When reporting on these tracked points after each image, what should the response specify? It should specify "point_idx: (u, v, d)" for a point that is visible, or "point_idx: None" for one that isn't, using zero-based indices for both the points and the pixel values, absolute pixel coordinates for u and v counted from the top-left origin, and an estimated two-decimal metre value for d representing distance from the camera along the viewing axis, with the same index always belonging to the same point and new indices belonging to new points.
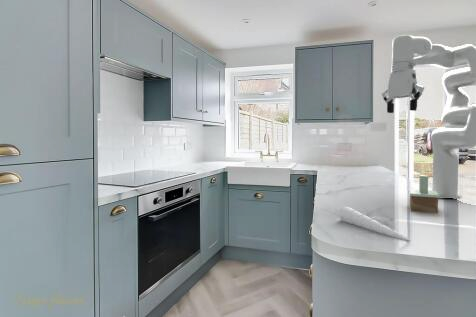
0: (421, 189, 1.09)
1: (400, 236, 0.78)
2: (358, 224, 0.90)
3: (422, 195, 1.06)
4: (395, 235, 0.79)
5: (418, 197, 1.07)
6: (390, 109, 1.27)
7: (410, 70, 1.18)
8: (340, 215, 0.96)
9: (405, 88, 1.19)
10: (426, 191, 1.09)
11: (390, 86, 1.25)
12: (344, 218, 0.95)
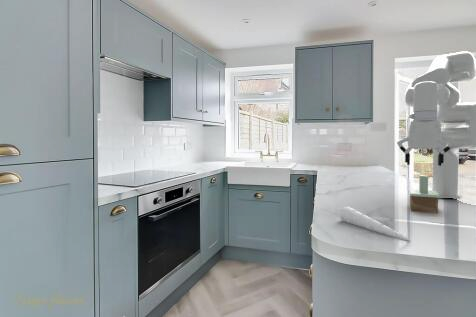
0: (421, 189, 1.09)
1: (401, 236, 0.78)
2: (359, 224, 0.90)
3: (422, 195, 1.06)
4: (396, 235, 0.79)
5: (418, 197, 1.07)
6: (438, 161, 1.09)
7: None
8: (341, 215, 0.96)
9: None
10: (426, 191, 1.09)
11: None
12: (345, 218, 0.95)
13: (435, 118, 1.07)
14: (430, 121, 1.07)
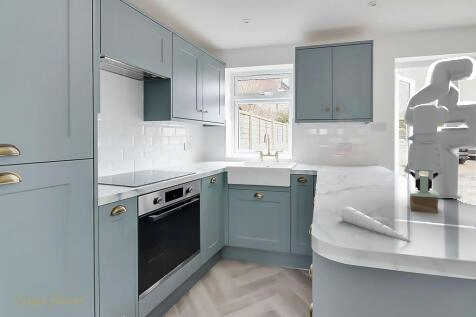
0: (421, 189, 1.09)
1: (401, 236, 0.78)
2: (359, 224, 0.90)
3: (422, 195, 1.06)
4: (396, 235, 0.79)
5: (418, 197, 1.07)
6: None
7: None
8: (341, 215, 0.96)
9: None
10: (426, 191, 1.09)
11: None
12: (345, 218, 0.95)
13: (435, 141, 1.07)
14: (430, 144, 1.08)
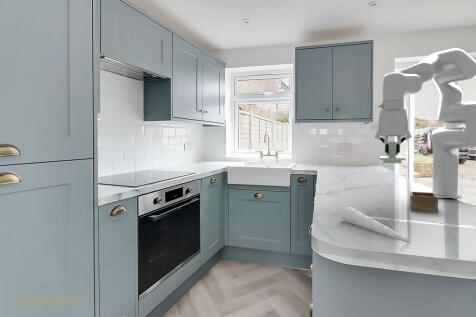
0: (390, 154, 1.16)
1: (400, 237, 0.78)
2: (360, 224, 0.90)
3: (390, 159, 1.13)
4: (395, 236, 0.79)
5: (418, 197, 1.07)
6: None
7: None
8: (342, 215, 0.96)
9: None
10: (394, 155, 1.15)
11: None
12: (346, 218, 0.95)
13: (402, 107, 1.14)
14: (397, 110, 1.14)
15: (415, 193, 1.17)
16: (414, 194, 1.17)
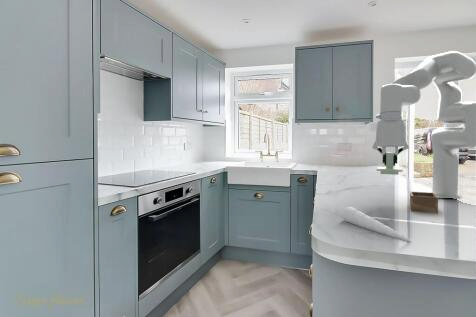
0: (387, 165, 1.17)
1: (401, 236, 0.78)
2: (360, 224, 0.90)
3: (387, 170, 1.14)
4: (396, 235, 0.79)
5: (418, 197, 1.07)
6: None
7: None
8: (343, 215, 0.96)
9: None
10: (391, 167, 1.16)
11: None
12: (346, 218, 0.95)
13: (399, 118, 1.14)
14: (395, 121, 1.15)
15: (415, 193, 1.17)
16: (414, 194, 1.17)
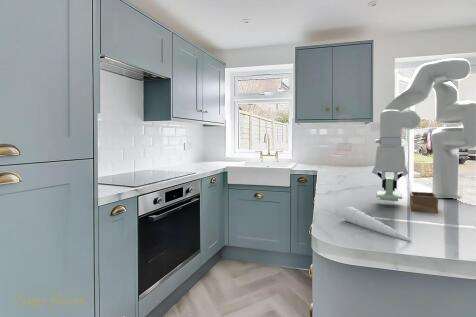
0: (387, 191, 1.17)
1: (402, 236, 0.77)
2: (361, 224, 0.90)
3: (387, 196, 1.14)
4: (397, 235, 0.79)
5: (418, 197, 1.07)
6: None
7: None
8: (343, 215, 0.96)
9: None
10: (391, 193, 1.16)
11: None
12: (347, 218, 0.94)
13: (399, 144, 1.15)
14: (394, 147, 1.15)
15: (415, 193, 1.17)
16: (414, 194, 1.17)
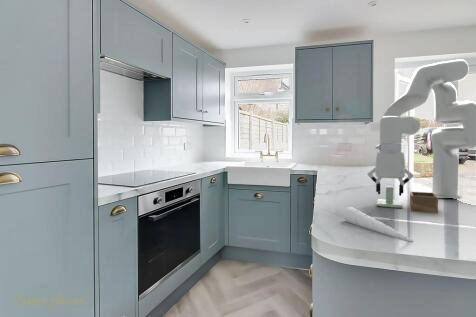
0: (387, 199, 1.17)
1: (404, 237, 0.77)
2: (362, 224, 0.89)
3: (387, 205, 1.14)
4: (399, 236, 0.79)
5: (418, 197, 1.07)
6: None
7: None
8: (343, 215, 0.96)
9: None
10: (391, 201, 1.17)
11: None
12: (347, 218, 0.94)
13: (399, 150, 1.15)
14: (394, 153, 1.15)
15: (415, 193, 1.17)
16: (414, 194, 1.17)
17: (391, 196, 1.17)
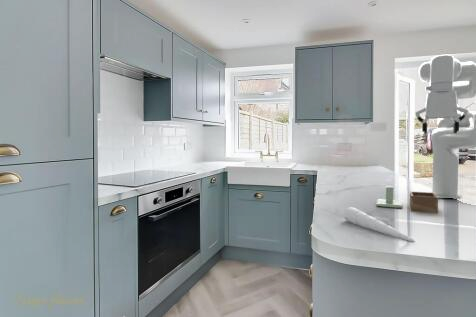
0: (387, 199, 1.17)
1: (405, 237, 0.77)
2: (363, 225, 0.89)
3: (387, 205, 1.14)
4: (400, 236, 0.78)
5: (418, 197, 1.07)
6: (453, 129, 1.18)
7: None
8: (345, 215, 0.95)
9: None
10: (391, 201, 1.17)
11: None
12: (349, 218, 0.94)
13: (451, 89, 1.15)
14: (446, 92, 1.15)
15: (415, 193, 1.17)
16: (414, 194, 1.17)
17: (391, 196, 1.17)
